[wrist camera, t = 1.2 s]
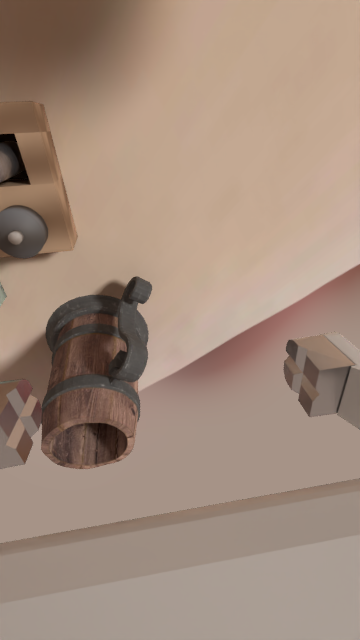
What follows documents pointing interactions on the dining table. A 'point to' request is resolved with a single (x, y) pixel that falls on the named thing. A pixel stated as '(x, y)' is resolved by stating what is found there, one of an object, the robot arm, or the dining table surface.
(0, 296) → the tray
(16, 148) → the lock pin
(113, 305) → the tankard
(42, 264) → the dining table surface
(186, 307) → the dining table surface
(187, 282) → the dining table surface
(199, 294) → the dining table surface
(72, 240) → the block
